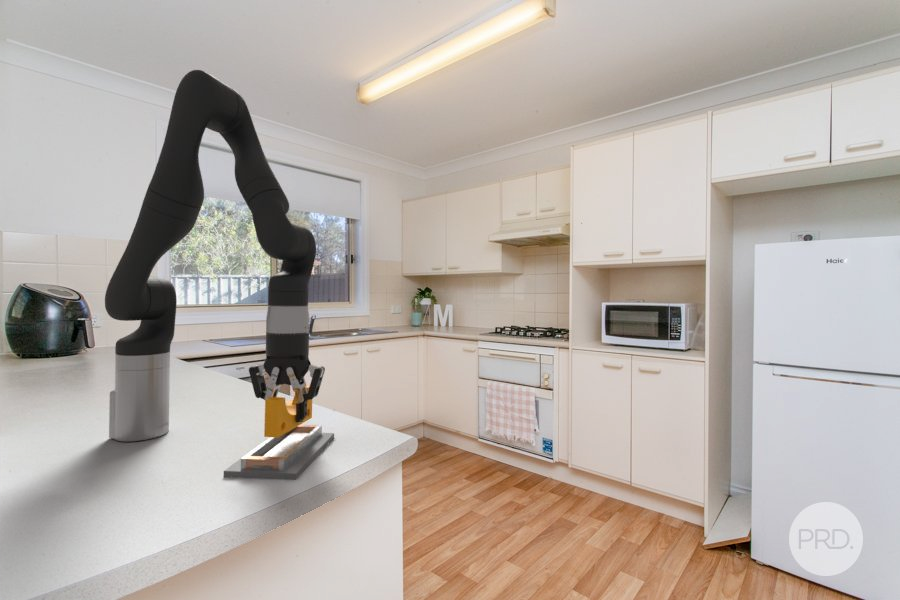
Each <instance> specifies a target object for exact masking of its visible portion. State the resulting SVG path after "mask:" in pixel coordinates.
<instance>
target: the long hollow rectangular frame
mask: <svg viewBox="0 0 900 600" xmlns="http://www.w3.org/2000/svg"><path fill="white" fill-rule="evenodd" d="M322 428H323V425H321V424H319V425H318V424H316V425H315V424H300V425H299V426H297V427H295V428H294V429H292V430H290V431H289V432H287V433H285V434H284V435H282V436H280V437H279V438H274V437H268V438H269V439H268V438H267V439H265V440H264V441H263V442H262V444H261V443H260V444H258V445H257V446H258V447H257V446H255V447H254V448H253V449H251V452H250V451H249V452H248V453H246V454H247V455H246V454H245V455H244V456H242V457H240V459H241V469H242V470H270V471H284V470H285V469H286V468H287V467H288V466H289V465H290V464H291V463H292V462H293V461H294V460H295V459H296V458H297V457H298V456H300V455H301V454H302V453H303V452H304V451H305V450H306V449H307V448H308V447H309V446H310V445H311V444H312V443H313V442H314V441H315V440H316V439H317V438H318V437H319V436H320V435H321V434H322V433H323V429H322ZM288 435H289V436H288ZM287 436H288V437H287ZM283 439H284V440H283ZM282 440H283V441H282ZM278 443H279V444H278ZM277 444H278V445H277ZM273 447H274V448H273ZM272 448H273V449H272ZM268 451H269V452H268ZM267 452H268V453H267ZM264 454H265V455H264ZM263 455H264V456H263Z"/></svg>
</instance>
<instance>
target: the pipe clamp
mask: <svg viewBox="0 0 900 600" xmlns="http://www.w3.org/2000/svg"><path fill="white" fill-rule="evenodd" d="M309 387H310V385H308V384H306V389H307V392H308V390H309ZM297 402H298V401H297V397H296V394H295V393H294V395H293V399H292V400H289V401H287V402H286V397H282V396H281V397H279V396H277V397H270V398H268V399H265V400H264V431H263V433H264V434H263V435H264V437H265V438H270V437H274V438H279V437H280V436H282V435H284V434H285V433H287V432H289V431H290V430H292V429H294V428H295V427H297V426H299V425H303V424H304V423H305V422H307V421H309V420H310V419H312V418H313V417H312V416H313V399H311V400H308V401H307V416H306V418H304V420H303V421H302V422H300V423H299V422H296V403H297Z"/></svg>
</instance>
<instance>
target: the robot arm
mask: <svg viewBox="0 0 900 600" xmlns="http://www.w3.org/2000/svg"><path fill="white" fill-rule="evenodd" d="M206 129H207V130H210V131H212V132H215V133H218V134H219V135H220V136H221V137H222V138H223V139H224V141H225V142H226V143H227V145H228V146H229V148H230V149H231V151H232V153H233V156H234V178H235V182H236V185H237V188H238V190H239V192H240V194H241V196H242V198H243V199H244V202H245V204H246V205H247V208H248V209H249V211H250V212H251V214H252V215H251V216H252V221H253V225H254V230H255V234H256V238H257V242H258V243H259V245H260V247H261V248H262V250H263V251H264V252H265V254H267V256H269V257H270V258H272V259H275V260H279V261H281V262H282V263H281V266H280V270H279V273H276V274H273V275H271V277H270V278H269V280H268V285H267V286H268V289H267V305H268V306H267V312H266V318H265V319H266V322H265V329H266V330H265V356H266V357H265V359H264V363H263V364H256V365H253V366H250V367H249V368H248V372H249V377H250V381H251V384H252V385H251V386H252V388H253V393H254V396H255V398H256V399H262V400H264V401H265V399H268V398H270V397H278V394H279V392H280V388H281V387H282V385H288V386H291V389H292V390H293V392H294V395H295V394H296V397H297V401H298V402H297V403H296V422H299V423H300V422H302V421H303V420H304V418H306V416H307V401H308V400H311V399H312V400H313V399H314V398H315V397H316V398H317V396H318V395H319V392H320V390H321V389H320V387H321V385H322V382H323V379H324V374H325V371H326V369H325V367H324V366H323V365H321V366H318V365H314V364H311V361H310V358H309V355H310V354H309V353H310V352H309V351H310V348H309V347H310V328H311V325H310V313H309V312H310V311H309V282H310V279H311V276H312V273H313V269H314V266H315V265H314V264H315V260H316V257H317V255H316V254H317V243H316V239H315V237H314V234H313V233H312V232H311V230H309V229H308V228H306V227H305V226H301V225H299V224H296V223H292V222H291V221H290V220H289V218H288V216H287V214H288V213H289V210H290V202H289V200H288V196H287V195H286V193H285V192H284V190H283V187H282V186H281V185H280V182H279V181H278V179H277V177H276V176H275V173H274V172H273V169H272V168H271V166H270V164H269V161H268V159H267V157H266V156H265V153H264V149H263V146H262V145H261V142H260V139H259V137H258V133H257V131H256V128H255V125H254V121H253V119H252V115H251V113H250V110H249V107H248V105H247V103H246V101H245V99H244V97H243V95H241V94H240V93H239V92H238V91H237V89H234V88H233V87H231V86H230V85H228V84H226V83H225V82H223V81H221V80H220V79H219V78H217V77H215V76H213V75H212V74H210V73H208V72H206V71H204V70H202V69H193V70H190V71H188V72H187V73H186V74H185V75H184V76H183V77H182V78H181V80H180V82H179V84H178V86H177V88H176V91H175V94H174V99H173V103H172V107H171V110H170V115H169V119H168V123H167V129H166V132H165V136H164V140H163V141H164V142H163V145H162V148H161V151H160V153H159V156H158V159H157V163H156V167H155V169H154V171H153V175H152V177H151V179H150V182H149V184H148V187H147V189H146V192H145V195H144V198H143V200H142V205H141V207H140V211H139V213H138V217H137V220H136V222H135V225H134V228H133V230H132V233H131V236H130V238H129V241H128V243H127V245H126V247H125V250H124V251H123V253H122V255H121V258H120V260H119V261H118V263H117V265H116V267H115V270H114V271H113V273H112V275H111V278H110V279H109V282H108V285H107V287H106V290H105V295H104V308H105V311H106V312H107V314H108V316H109V317H110V318H112V319H113V320H116V321H125V322H127V321H129V322H130V321H140V323H139V325H138V326H139V327H138V328H137V329H135V330H134V331H133V332H131V333H129V334H128V335H125V336H123V337H121V338H119V339H118V340H117V341H116V343H115V348H114V350H115V355H114V356H115V359H114V389H113V390H111V391H110V392H109V407H108V409H109V412H108V414H109V415H108V416H109V418H108V420H109V421H108V423H109V424H108V438H109V439H113V440H115V441H118V442H140V441H145V440H151V439H155V438H159V437H162V436H163V435H166V434H167V433H168V432H169V431H170V382H171V381H170V379H171V378H170V377H171V376H170V374H171V345H172V342H173V340H174V337H175V329H176V327H175V326H176V316H177V303H178V302H177V293H176V292H177V291H176V289H175V285H174V284H173V283H172V282H171V280H169V279H167V278H165V277H162V276H161V277H160V276H151V274H152V271H153V270H154V268H155V266H156V265H157V263H158V261H160V260H161V258H162V257H163V256H164V255H165V254H166V253H167V252H169V251H170V250H171V249H172V248H174V247H175V246H176V245H177V244H178V243H180V242H181V241H182V240H184V238H186V236H187V235H189V233H191V231H192V230H193V229H194V227H195V225H196V222H197V220H198V217H199V214H200V212H201V209H202V207H203V204H204V200H205V187H204V183H203V182H204V181H203V176H202V171H201V168H200V160H199V156H200V155H199V152H200V146H201V143H202V139H203V135H204V133H205V131H206ZM308 372H309V376H310V378H311V379H310V387H309V390H308V392H307V389H306V385H307V381H306V379H305V375H306V374H307V373H308ZM265 374H267V375H268V376H269V377H270V378H269V381H268V384H267V383H266V379H265V376H264V375H265Z"/></svg>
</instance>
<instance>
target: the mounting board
mask: <svg viewBox="0 0 900 600" xmlns="http://www.w3.org/2000/svg"><path fill="white" fill-rule="evenodd" d="M288 436H289V435H288ZM288 436H287V437H288ZM269 438H270V437H267V439H269ZM334 439H335V432H322V434H321V435H320V436H319V437H318V438H317V439H316V440H315V441H314V442H313V443H312V444H311V445H310V446H309V447H308V448H307V449H306V450H305V451H304V452H303V453H302V454H301V455H300V456H298V457H297V458H296V459H295V460H294V461H293V462H292V463H291V464H290V465H289V466H288V467H287V468H286V469H285V470H284V471H270V470H242V469H241V458H239V459H238V460H237V461H235V462H234V463H232V464H231V465H230V466H228V467H227V468H226V469H223V478H239V479H240V478H241V479H243V478H244V479H265V480H266V479H267V480H269V479H270V480H293V481H294V480H295V481H296V480H297V479H298V478H299V477H300V476H301V474H303V472H305V471H306V469H308V467H309V466H310V465H311V464H312V463H313V461H314V460H315V459H316V458H317V457H318V456H320V454H321V453H322V452H323V451H324V449H326V447H327V446H328V445H329V444H330V443H331V442H332V441H333V440H334ZM283 440H284V439H283ZM283 440H282V441H283ZM262 443H263V442H262ZM262 443H260V444H262ZM278 444H279V443H278ZM278 444H277V445H278ZM258 446H259V445H257V446H256V447H258ZM273 448H274V447H273ZM273 448H272V449H273ZM251 451H252V450H251ZM251 451H249V452H251ZM268 452H269V451H268ZM268 452H267V453H268ZM247 454H248V453H246V454H245V455H247ZM264 455H265V454H264ZM264 455H263V456H264Z"/></svg>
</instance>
